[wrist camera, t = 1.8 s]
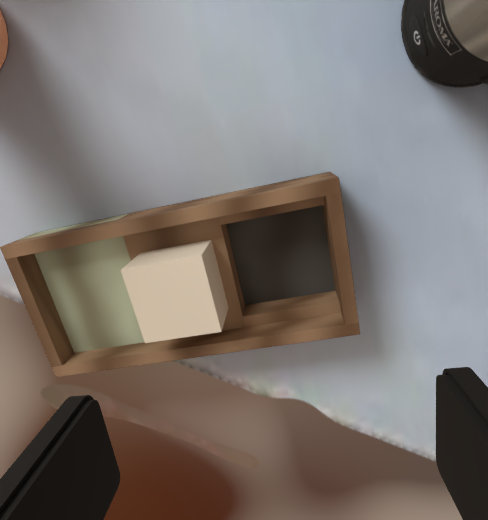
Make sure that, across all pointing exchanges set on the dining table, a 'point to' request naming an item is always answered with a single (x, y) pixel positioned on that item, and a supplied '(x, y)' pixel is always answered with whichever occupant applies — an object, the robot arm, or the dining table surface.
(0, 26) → the pepper shaker
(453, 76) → the milk frother
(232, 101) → the dining table surface
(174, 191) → the dining table surface
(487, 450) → the robot arm
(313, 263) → the box
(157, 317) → the cream block
